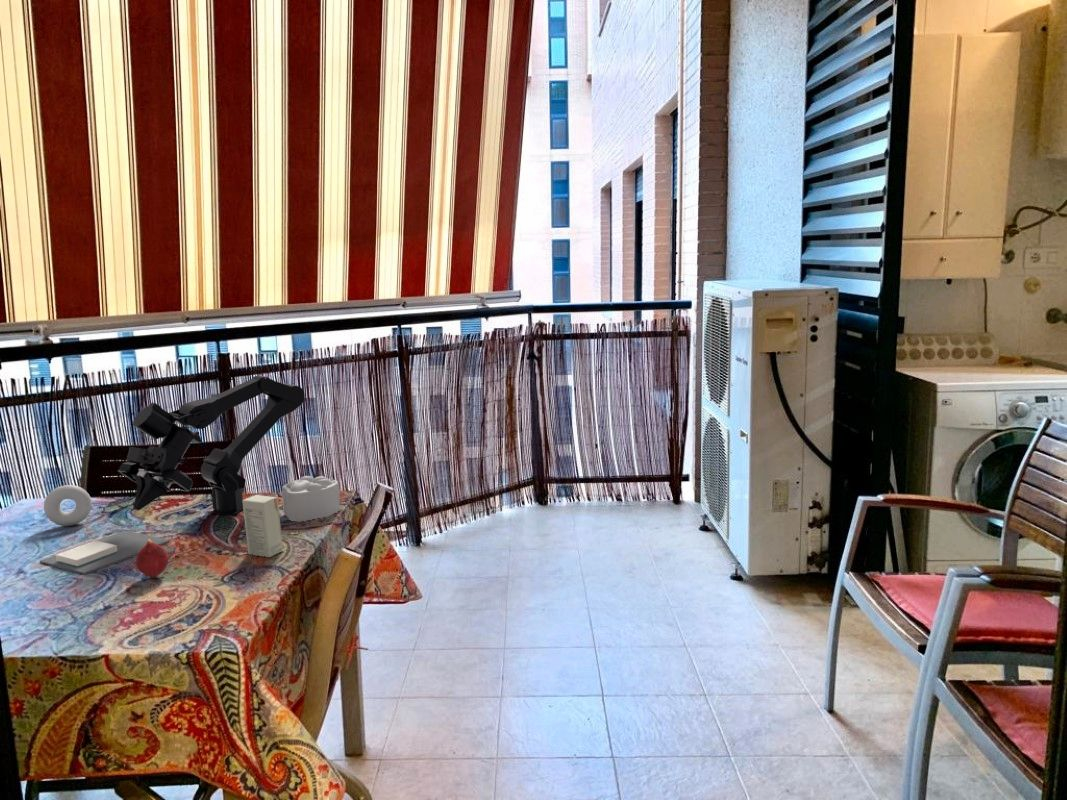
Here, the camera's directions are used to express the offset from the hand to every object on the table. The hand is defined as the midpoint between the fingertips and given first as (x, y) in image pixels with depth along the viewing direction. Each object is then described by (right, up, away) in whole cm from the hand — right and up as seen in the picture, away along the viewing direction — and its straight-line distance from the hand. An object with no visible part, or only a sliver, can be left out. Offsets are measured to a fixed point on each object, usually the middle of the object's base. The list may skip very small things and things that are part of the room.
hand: (135, 509), depth 178 cm
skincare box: (+32, -8, -7) cm, 33 cm away
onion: (+14, -11, -20) cm, 26 cm away
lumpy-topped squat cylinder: (+35, -4, +18) cm, 39 cm away
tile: (-6, -8, -10) cm, 14 cm away
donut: (-22, -6, +12) cm, 25 cm away
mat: (-4, -8, -5) cm, 11 cm away
